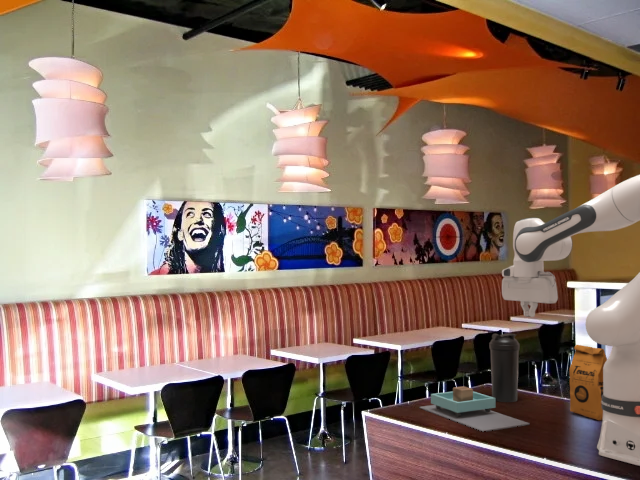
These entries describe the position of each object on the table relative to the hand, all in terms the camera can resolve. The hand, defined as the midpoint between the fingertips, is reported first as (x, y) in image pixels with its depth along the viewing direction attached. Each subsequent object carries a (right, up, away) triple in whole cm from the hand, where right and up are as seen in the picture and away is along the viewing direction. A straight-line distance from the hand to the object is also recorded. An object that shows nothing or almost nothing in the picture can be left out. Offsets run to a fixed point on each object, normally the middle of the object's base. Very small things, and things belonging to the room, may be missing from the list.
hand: (529, 316), depth 202 cm
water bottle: (+1, -33, +31) cm, 45 cm away
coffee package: (+22, -33, +8) cm, 40 cm away
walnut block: (-18, -29, +12) cm, 36 cm away
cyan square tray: (-18, -33, +12) cm, 39 cm away
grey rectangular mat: (-16, -33, +8) cm, 37 cm away
